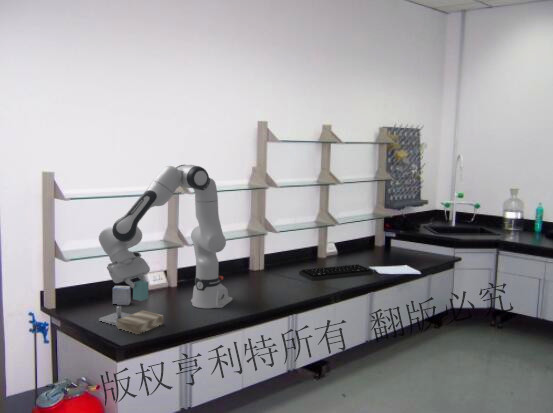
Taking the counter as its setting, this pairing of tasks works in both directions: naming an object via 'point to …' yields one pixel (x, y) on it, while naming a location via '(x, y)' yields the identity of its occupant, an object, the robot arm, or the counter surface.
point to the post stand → (114, 316)
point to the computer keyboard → (335, 272)
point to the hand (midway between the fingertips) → (139, 285)
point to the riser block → (140, 322)
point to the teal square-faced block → (140, 290)
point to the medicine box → (121, 295)
